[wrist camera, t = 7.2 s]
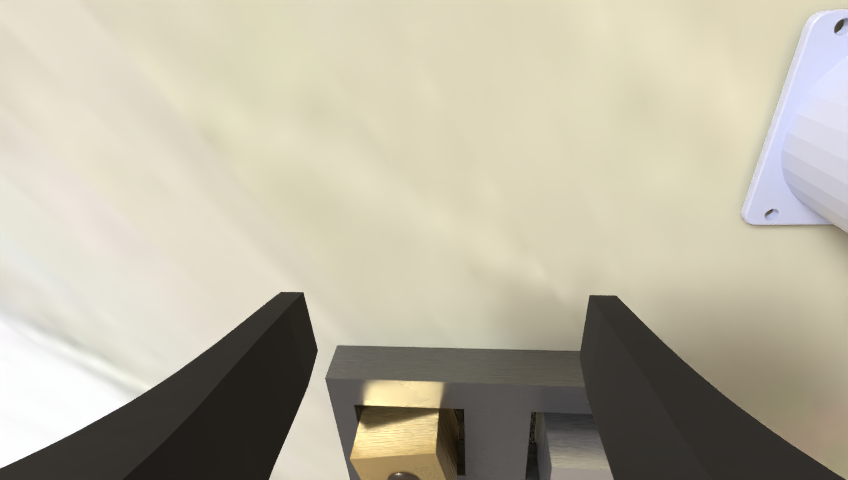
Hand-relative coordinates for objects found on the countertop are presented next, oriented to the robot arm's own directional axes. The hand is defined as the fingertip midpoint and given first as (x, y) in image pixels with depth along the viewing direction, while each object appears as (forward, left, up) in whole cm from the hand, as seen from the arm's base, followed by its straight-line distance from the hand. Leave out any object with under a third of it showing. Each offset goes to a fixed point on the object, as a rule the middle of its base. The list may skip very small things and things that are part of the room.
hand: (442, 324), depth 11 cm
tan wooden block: (+3, +15, -10) cm, 18 cm away
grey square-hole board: (-2, +15, -9) cm, 18 cm away
